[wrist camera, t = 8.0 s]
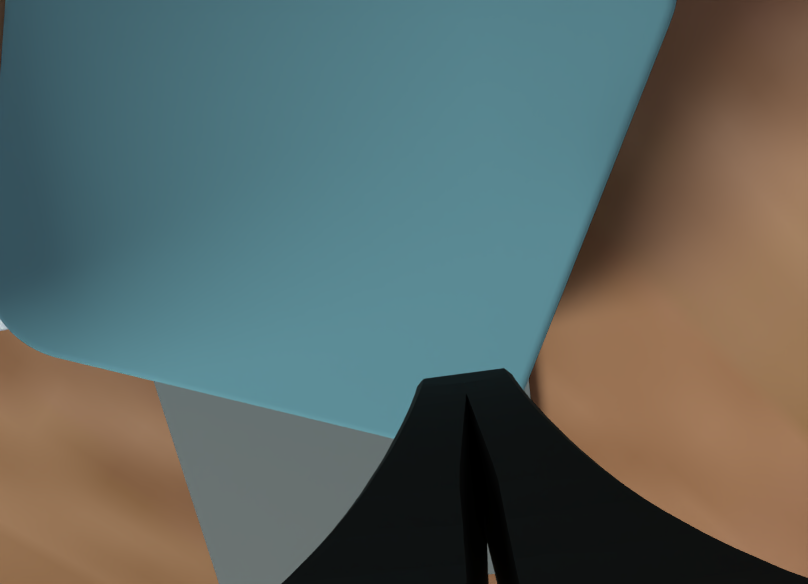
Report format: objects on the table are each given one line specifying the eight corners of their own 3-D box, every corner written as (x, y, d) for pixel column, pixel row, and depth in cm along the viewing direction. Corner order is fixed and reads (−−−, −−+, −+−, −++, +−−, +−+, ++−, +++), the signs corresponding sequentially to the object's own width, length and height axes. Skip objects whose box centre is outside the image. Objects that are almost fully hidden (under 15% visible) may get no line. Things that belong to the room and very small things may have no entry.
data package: (642, -67, 18) (119, -235, 16) (714, -77, 13) (20, -305, 12) (479, 374, 22) (61, 268, 21) (496, 469, 18) (-25, 343, 17)
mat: (227, 597, 26) (225, 604, 26) (-40, -237, 17) (-47, -240, 16) (546, 560, 25) (547, 567, 25) (454, -331, 16) (455, -336, 16)
